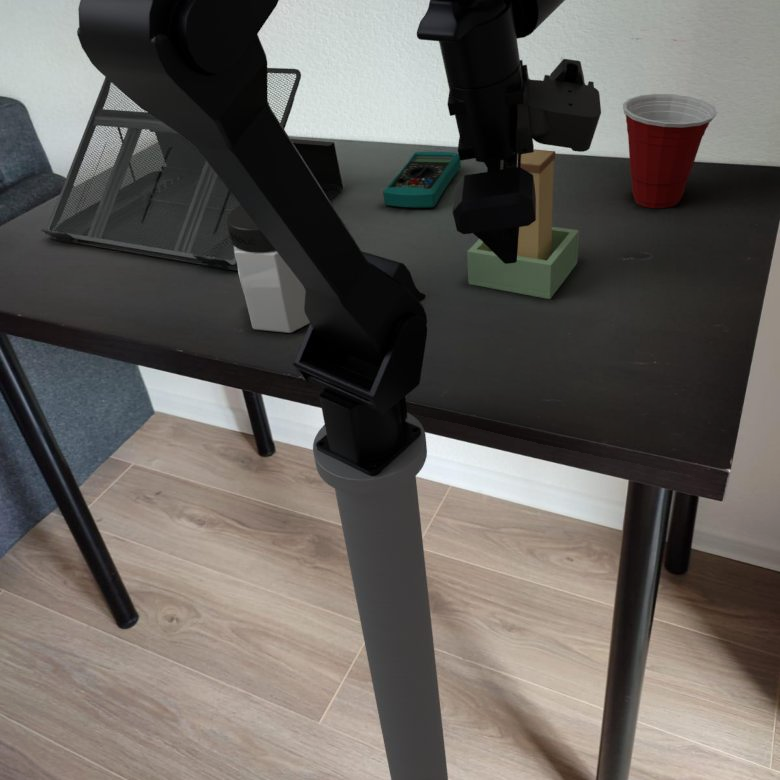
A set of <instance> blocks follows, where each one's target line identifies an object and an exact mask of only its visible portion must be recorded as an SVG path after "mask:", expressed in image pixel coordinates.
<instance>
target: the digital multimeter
mask: <svg viewBox="0 0 780 780" xmlns="http://www.w3.org/2000/svg"><path fill="white" fill-rule="evenodd" d="M461 162H462V160H461V161H460V158H459V154H458V153H456V152H450V151H416V152H414V153H413V154H412V155H411V157H410V158H409V159H408V161H407V162H406V164H405V165H404V166H403V167H402V168H401V170H400V171H399V173H397V174H396V176H395V177H394V178H393V179H392V180H391V181H390V183H389V184H388V185H387V186H386V187H385V188H384V190H383V191H382V196H383V203H384V205H386V206H387V207H393V208H407V209H408V208H409V209H433V208H434V207H435V206H436V205H437V203H438V201H439V200H440V197H441V196H442V194H443V193H444V191H445V190H446V188H447V186H448V185H449V184H450V183H451V181H452V179H454V177H455V176H456V175H457V173H458V172H459V170H460V169H461V168H462V163H461Z"/></svg>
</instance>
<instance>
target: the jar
mask: <svg viewBox="0 0 780 780" xmlns="http://www.w3.org/2000/svg"><path fill="white" fill-rule="evenodd" d="M237 206H238V205H237ZM237 206H235V207H236V208H234V207H233V208H234V209H233V208H232V209H233V210H232V211H231V212H230V211H229V212H230V213H229V214H228V216H226V217H227V218H226V219H227V221H226V222H227V223H226V224H228V227H227V228H228V229H227V231H228V232H229V233H228V235H229V236H230V238H231V241H232V244H233V246H234V251H233V253H234V254H235V258H236V262H237V266H238V271H237V272H238V277H239V278H238V279H239V282H240V286H241V289H242V291H243V292H242V293H243V295H244V298H245V303H246V308H247V311H248V315H249V319H250V323H251V328H252V329H253V330H255V331H256V330H257V331H267V332H275V333H276V332H277V333H285V334H286V333H287V334H293V333H294V332H296V331H298V330H300V329H302V328H304V327H305V326H307V325H310V322H309V320H308V318H307V316H306V314H305V310H304V303H305V291H306V290H305V288H304V286H303V285H302V283H301V282H300V281H299V280H298V278H297V277H296V276H295V274H294V273H293V272H292V270H291V269H290V268H289V267H288V265H287V264H286V263H285V261H284V260H283V259H282V258H281V256H280V255H279V254H278V252H277V251H276V250H275V248H274V247H273V246H272V245H271V243H270V242H269V241H268V239H267V238H266V237H265V236H264V234H263V233H262V232H261V230H260V229H259V228H258V226H257V225H256V224H255V223H254V221H253V220H252V219H251V217H250V216H249V215H248V214H247V212H246V211H245V210H244V208H243V207H242V206H241V205H239V206H238V207H237Z"/></svg>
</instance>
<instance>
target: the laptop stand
mask: <svg viewBox="0 0 780 780" xmlns="http://www.w3.org/2000/svg"><path fill="white" fill-rule="evenodd" d="M267 75H268V76H267V94H268V103H269V105H271V109H272V111H274V114H275V116H276V117H277V119H278V120H279V122H280V124H281V125H282V127H283V128H284V130H286V129H285V128H286V127H287V124H288V120H289V117H290V114H291V111H292V107H293V105H294V101H295V97H296V94H297V91H298V89H299V86H300V81H301V79H302V73H301V71H300V70H299V69H297V68H283V67H267ZM104 77H105V76H104ZM286 95H287V96H286ZM287 99H288V100H287ZM271 103H272V104H271ZM275 106H276V107H275ZM290 139H291V141H292V142H293V144H294V146H295V147H296V149H297V150H298V152H299V153H300V155H301V157H302V158H303V160H304V161H305V163H306V164H307V166H308V168H309V169H310V171H311V172H312V174H313V176H314V177H315V179H316V180H317V182H318V183H319V185H320V187H321V188H322V190H323V191H324V193H325V194H326V196H327V198H328V199H329V201H331V200H332V199H333V198H335V197H336V196H337V195H338V194H340V192H341V191H342V190H344V186H343V180H342V175H341V170H340V164H339V160H338V154H337V150H336V145H335V142H334V141H325V140H324V141H323V140H312V139H311V140H310V139H299V138H298V139H297V138H290ZM115 144H116V145H115ZM100 147H101V148H100ZM108 155H109V156H108ZM109 160H110V161H109ZM93 163H96V164H93ZM157 163H158V164H157ZM96 177H98V178H96ZM84 192H85V193H84ZM58 195H59V196H58V198H57V200H56V203H55V206H54V208H53V211H52V214H51V216H50V219H49V222H48V224H47V227H46V229H43V228H42V229H40V231H41V232H43V233H44V234H45V235H48V236H49V240H54V241H57V242H58V241H59V242H64V243H69V244H77V245H83V246H90V247H95V248H100V249H106V250H112V251H118V252H123V253H129V254H136V255H141V256H147V257H151V258H159V259H164V260H171V261H175V262H181V263H189V264H194V265H199V266H205V267H209V268H215V269H221V270H226V271H235V272H238V266H237V262H236V258H235V254H234V245H233V244H232V241H231V238H230V236H229V232H228V224H227V216H228V214H229V213H230V212H231V211H232V210H233V209H234V208H236V207H238V206H239V205H241V204H240V203H239V202H238V201H237V199H236V198H235V197H234V195H233V194H232V193H231V191H230V190H229V189H228V188H227V186H226V185H225V184H224V182H223V181H222V180H221V179H220V177H219V176H218V175H217V173H216V172H215V171H214V169H213V168H212V167H211V166H210V164H209V163H208V162H207V160H206V159H205V158H204V157H203V155H202V154H201V153H200V151H199V150H198V149H197V147H196V146H195V145H194V144H193V143H192V142H190V141H189V140H188V139H187V138H185V137H184V136H182V135H181V134H179V133H178V132H176V131H175V130H173V129H172V128H170V127H169V126H167V125H166V124H165V123H163V122H162V121H160V120H159V119H157V118H156V117H154V116H153V115H151V114H150V113H148V112H147V111H145V110H144V109H142V108H141V107H139V106H138V105H137V104H136V103H134V102H133V101H132V100H131V99H130V98H129V97H128V96H127V95H125V94H124V93H123V92H122V91H121V90H120V89H119V88H118V87H116V86H115V85H114V84H113V83H112V82H111V81H110V80H109V79H107V78H106V77H105V78H104V79H103V83H102V85H101V87H100V90H99V93H98V95H97V98H96V100H95V103H94V106H93V108H92V111H91V113H90V116H89V118H88V121H87V124H86V127H85V129H84V132H83V134H82V137H81V139H80V141H79V144H78V147H77V149H76V152H75V154H74V157H73V160H72V162H71V165H70V167H69V170H68V172H67V175H66V177H65V181H64V183H63V185H62V187H61V190H60V193H59V194H58ZM76 197H77V198H76Z"/></svg>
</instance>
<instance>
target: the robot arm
mask: <svg viewBox="0 0 780 780" xmlns="http://www.w3.org/2000/svg"><path fill="white" fill-rule="evenodd" d="M279 1H280V0H80V1H79V4H78V8H77V9H78V27H77V30H76V35H77V38H78V41H79V44H80V46H81V49H82V50H83V52H84V53H85V55H86V57H87V59H88V60H89V61H90V63H91V65H92V66H93V67H94V68H95V69H96V70H97V71H98V72H99V73H100V74H102V75H103V76H104V77H106V78H107V79H109V80H110V81H111V82H112V83H113V84H114V85H115V86H114V85H113V86H114V87H115V88H117V89H118V88H119V89H120V90H121V91H122V92H121V91H120V92H121V93H122V94H124V96H126V95H127V96H128V97H129V98H128V97H127V98H128V99H129V100H131V102H132V101H133V102H132V103H133V104H135V103H136V104H135V105H137V107H138V106H139V107H138V108H140V107H141V108H142V109H141V108H140V109H141V110H143V111H144V110H145V111H146V112H148V113H150V114H151V115H153V116H154V117H156V118H157V119H159V120H160V121H162V122H163V123H165V124H166V125H167V126H169V127H170V128H172V129H173V130H175V131H176V132H178V133H179V134H181V135H182V136H184V137H185V138H187V139H188V140H189V141H190V142H192V143H193V144H194V145H195V146H196V147H197V149H198V150H199V151H200V153H201V154H202V155H203V157H204V158H205V159H206V160H207V162H208V163H209V164H210V166H211V167H212V168H213V169H214V171H215V172H216V173H217V175H218V176H219V177H220V180H222V181H223V182H224V183H223V182H222V183H223V185H224V184H225V185H226V186H227V188H226V189H227V190H229V191H231V192H230V193H231V194H233V196H234V197H235V198H236V199H237V202H238V203H239V204H241V206H242V207H243V208H244V210H245V211H246V212H247V214H248V215H249V216H250V217H251V219H252V220H253V221H254V223H255V224H256V225H257V226H258V228H259V229H260V230H261V232H262V233H263V234H264V236H265V237H266V238H267V239H268V241H269V242H270V243H271V245H272V246H273V247H274V248H275V250H276V251H277V252H278V254H279V255H280V256H281V258H282V259H283V260H284V261H285V263H286V264H287V265H288V267H289V268H290V269H291V270H292V272H293V273H294V274H295V276H296V277H297V278H298V280H299V281H300V282H301V283H302V285H303V286H304V288H305V290H306V291H305V303H304V310H305V314H306V316H307V318H308V320H309V322H310V323H309V324H308V327H307V329H306V332H305V334H304V337H303V339H302V341H301V344H300V346H299V349H298V351H297V354H296V356H295V358H294V361H293V363H292V364H293V368H294V369H295V371H296V373H297V374H298V375H299V377H300V379H302V381H305V382H311V383H313V384H315V385H317V386H320V387H321V388H324V390H323V391H322V392H321V393H319V395H318V396H319V401H320V408H321V412H322V418H323V423H324V425H325V428H326V435H325V436H324V437H323V438H321V439H320V440H319V441H318V442H317V443H316V448H317V450H318V451H320V452H322V453H324V454H326V455H328V456H330V457H332V458H334V459H336V460H338V461H340V462H342V463H344V464H347V465H349V466H351V467H353V468H355V469H357V470H359V471H361V472H363V473H365V474H367V475H369V476H376V475H378V474H379V473H380V472H381V471H382V470H383V469H385V468H386V467H387V466H388V465H389V464H390V463H391V462H392V461H393V460H394V459H395V458H397V457H398V456H399V455H400V454H401V453H402V452H403V451H404V450H405V449H406V448H407V447H409V446H410V445H411V444H412V443H413V442H414V441H415V440H416V439H417V438H418V437H419V436H420V435H421V429H420V428H419V427H418V426H415V425H413V424H411V423H408V422H406V419H407V413H408V410H407V400H406V396H408V395H409V394H410V393H411V392H412V391H413V390H414V389H416V388H417V387H418V386H419V385H420V384H421V383H420V382H421V376H422V370H423V364H424V357H425V350H426V344H427V338H428V325H427V324H428V316H427V312H426V310H425V307H424V305H423V303H422V302H423V301H425V299H426V296H427V295H426V294H425V293H422V291H421V292H420V290H419V289H418V288H417V286H416V284H415V282H414V279H413V276H412V273H411V272H410V270H409V269H408V267H407V266H406V265H405V263H403V262H400V261H397V260H393V259H390V258H386V257H383V256H380V255H376V254H373V253H370V252H366V251H362V249H361V248H360V246H359V244H358V243H357V241H356V240H355V238H354V237H353V236H352V233H350V231H349V229H348V228H347V226H346V224H345V223H344V221H343V220H342V217H340V215H339V213H338V212H337V210H336V209H335V207H334V206H333V204H332V202H331V200H329V199H328V198H327V196H326V194H325V193H324V191H323V190H322V188H321V187H320V185H319V183H318V182H317V180H316V179H315V177H314V176H313V174H312V172H311V171H310V169H309V168H308V166H307V164H306V163H305V161H304V160H303V158H302V157H301V155H300V153H299V152H298V150H297V149H296V147H295V146H294V144H293V142H292V141H291V139H292V138H291V137H290V136H289V135H288V133H287V131H286V129H284V128H283V127H282V125H281V124H280V122H281V121H279V120H280V119H279V118H278V116H276V113H275V111H274V110H273V109H272V106H271V104H269V103H270V102H269V100H268V99H269V98H268V95H269V94H268V93H267V92H268V90H267V89H268V88H267V85H268V84H267V83H268V82H267V79H268V78H267V77H268V74H267V68H268V58H267V54H266V51H265V50H264V46H263V44H262V42H261V40H260V37H259V32H260V31H261V30H262V28H263V26H264V25H265V24H266V22H267V21H268V19H269V18H270V16H271V15H272V13H273V11H274V10H275V9H276V7H277V6H278V3H279ZM565 1H566V0H429V2H428V7H427V10H426V12H425V13H424V15H423V17H422V18H421V20H420V22H419V24H418V27H417V30H416V38H417V39H418V40H420V41H430V42H438V44H439V48H440V53H441V57H442V62H443V66H444V71H445V75H446V79H447V86H448V98H447V104H446V105H447V108H448V114H449V116H451V117H452V116H454V117H455V122H456V126H457V131H458V142H457V143H458V145H457V154H458V155H459V158H460V161H461V162H462V161H466V160H475V162H477V163H484V165H485V166H486V171H484V172H483V171H482V172H478V173H477V172H476V173H471V174H464V175H463V177H462V178H461V179H460V180H459V182H458V183H457V184H456V185H455V188H454V195H453V204H452V216H453V220H454V225H455V228H456V231H457V232H458V233H460V234H462V235H470V234H473V235H474V236H475V237H476V238H478V240H479V239H480V240H481V241H482V242H483V243H484V244H485V245H486V246H487V247H488V248H489V249H490V250H491V251H492V252H493V253H494V254H495V255H496V256H497V257H498V258H499V259H500V260H501V261H502V262H503V263H505V264H510V263H516V262H517V253H518V238H519V227H523V226H529V225H530V224H532V223H533V222H534V221H536V195H535V184H534V178H533V175H532V174H531V173H529V172H527V171H526V170H524V169H523V168H521V167H520V166H521V154H526V153H533V152H534V147H535V145H534V142H536V143H538V144H541V145H546V146H554V147H560V148H565V149H566V148H567V149H571V150H572V151H573V152H580V153H582V152H587V151H589V150H590V148H591V145H592V142H593V139H594V136H595V133H596V130H597V127H598V124H599V121H600V118H601V116H602V107H601V106H602V105H601V95H600V91H599V90H598V89H597V88H596V87H595V85H594V83H595V82H594V81H592V80H591V81H590V80H589V81H588V82H587V84H586V82H585V75H584V70H583V67H582V63H581V61H580V60H576V59H568V58H563V59H562V60H561V61H560V62H559V63H558V65H557V66H556V67H555V68H554V69H553V70H552V72H550V74H544V77H543V79H542V80H541V79H530V76H529V71H528V64H524V63H523V62H524V61H523V59H520V51H519V45H518V44H519V43H518V40H519V39H523V38H527V37H528V36H530V35H532V33H534V32H535V31H536V29H538V27H540V26H541V25H542V24H543V23H544V22H545V21H546V20H547V19H548V18H549V17H550V16H551V15H552V14H553V13H554V12H555V11H556V10H557V9H558V8H559V7H560V6H561V5H562V4H563V3H564V2H565ZM268 102H269V103H268ZM274 113H275V114H274ZM277 118H278V119H279V120H278V119H277ZM234 197H233V198H234ZM235 198H234V199H235ZM236 199H235V200H236Z"/></svg>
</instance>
